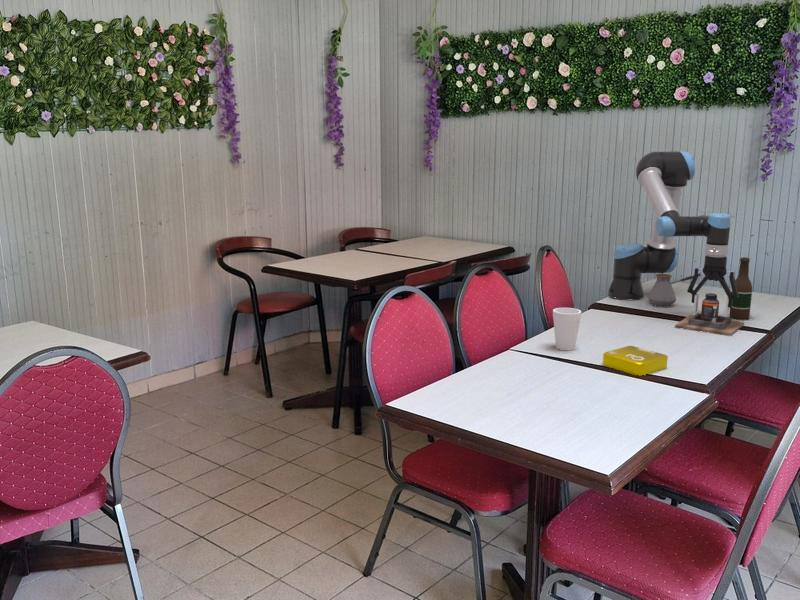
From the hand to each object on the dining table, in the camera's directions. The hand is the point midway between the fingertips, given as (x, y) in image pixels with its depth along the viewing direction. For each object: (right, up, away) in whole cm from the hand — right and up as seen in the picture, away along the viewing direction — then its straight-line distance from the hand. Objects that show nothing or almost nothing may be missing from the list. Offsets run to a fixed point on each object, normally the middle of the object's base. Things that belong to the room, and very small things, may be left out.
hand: (710, 313), depth 283 cm
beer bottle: (+17, -2, +13) cm, 21 cm away
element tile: (-43, -16, -46) cm, 66 cm away
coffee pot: (-2, +2, +33) cm, 33 cm away
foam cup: (-61, -11, -27) cm, 67 cm away
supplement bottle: (0, -4, +1) cm, 4 cm away
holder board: (0, -5, +1) cm, 5 cm away
